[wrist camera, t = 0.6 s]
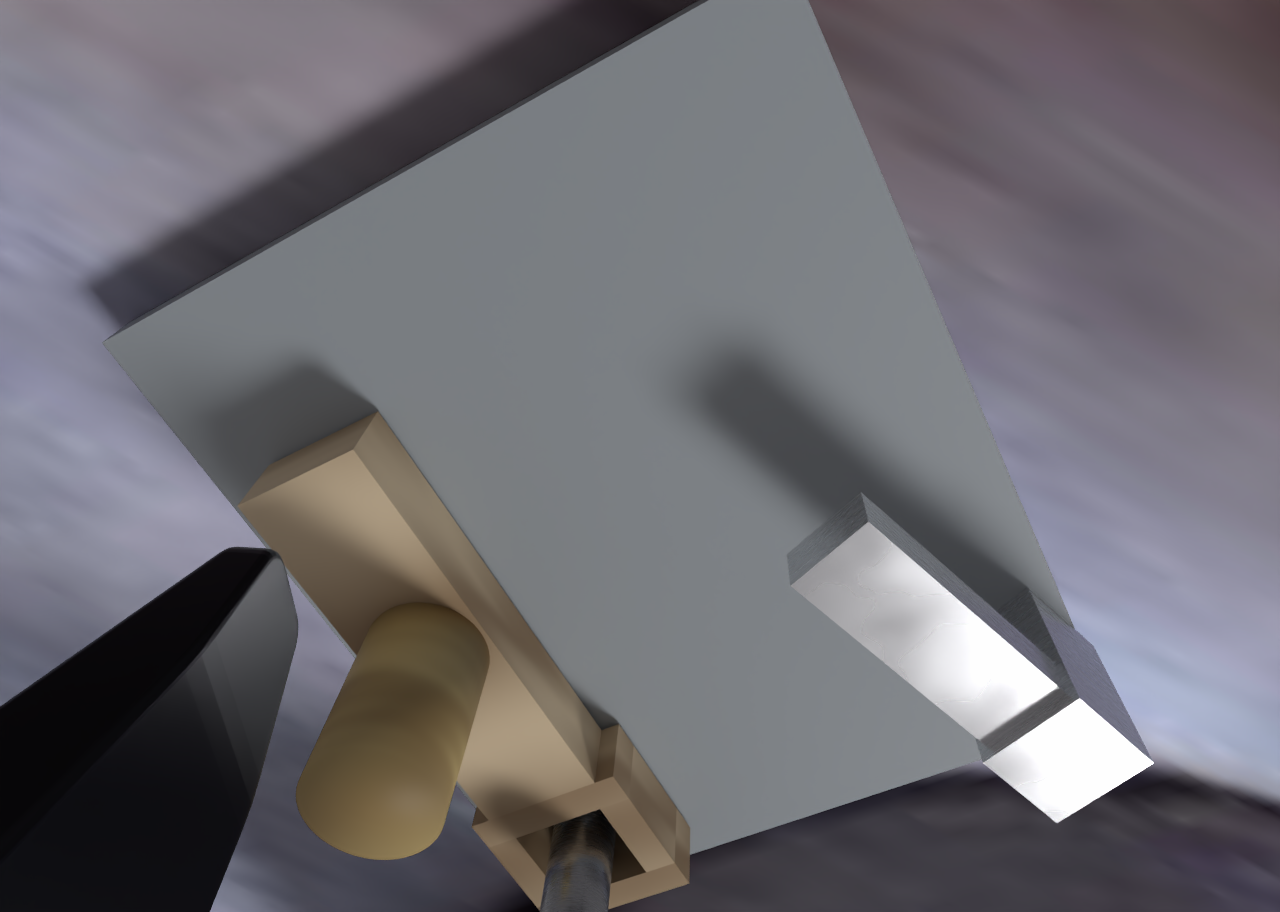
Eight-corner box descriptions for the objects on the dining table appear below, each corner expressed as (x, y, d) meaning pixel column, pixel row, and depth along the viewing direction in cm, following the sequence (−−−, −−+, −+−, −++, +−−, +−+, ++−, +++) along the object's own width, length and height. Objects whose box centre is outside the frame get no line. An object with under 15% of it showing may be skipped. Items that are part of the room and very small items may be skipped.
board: (554, 866, 31) (549, 900, 30) (128, 322, 24) (101, 342, 22) (1096, 684, 27) (1111, 716, 26) (784, -49, 19) (789, -46, 18)
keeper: (1011, 701, 26) (1057, 823, 22) (772, 500, 23) (784, 601, 20) (1093, 645, 25) (1154, 763, 21) (853, 430, 22) (879, 523, 19)
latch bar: (690, 827, 28) (685, 1057, 23) (561, 870, 29) (526, 1099, 24) (396, 401, 23) (295, 564, 17) (251, 473, 24) (111, 649, 18)
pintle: (577, 826, 28) (556, 973, 25) (548, 786, 28) (521, 931, 24) (629, 808, 28) (616, 955, 24) (600, 768, 27) (582, 911, 24)
